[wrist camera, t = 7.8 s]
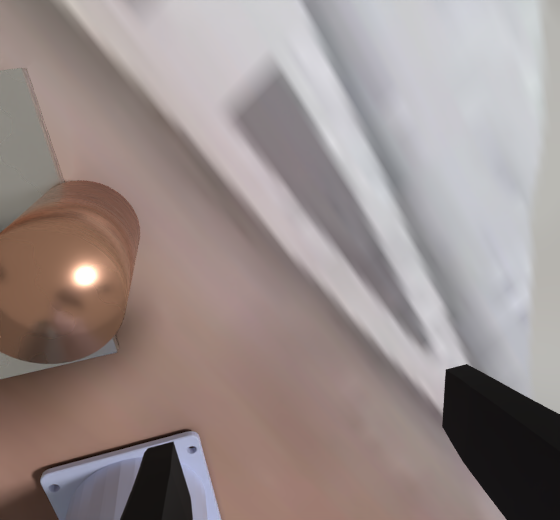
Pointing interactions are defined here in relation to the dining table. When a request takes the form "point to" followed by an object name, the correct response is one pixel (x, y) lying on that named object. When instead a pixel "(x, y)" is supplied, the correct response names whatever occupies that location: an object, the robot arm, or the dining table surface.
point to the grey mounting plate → (26, 176)
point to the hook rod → (66, 273)
